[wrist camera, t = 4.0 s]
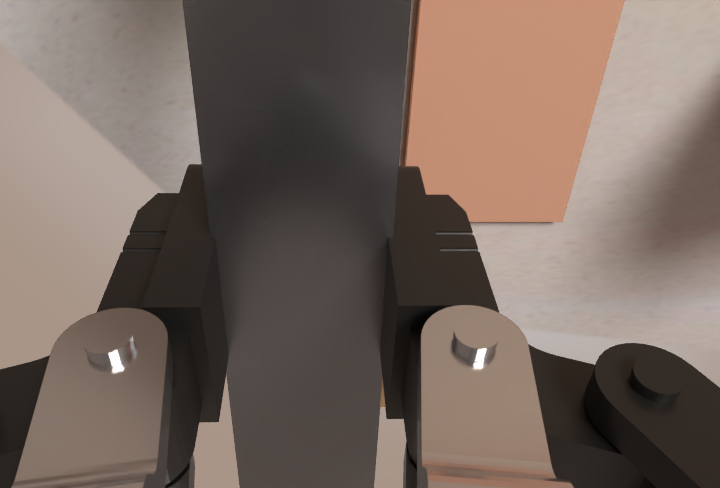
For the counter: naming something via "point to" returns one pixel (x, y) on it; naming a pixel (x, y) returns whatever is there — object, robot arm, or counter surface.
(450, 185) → the mat
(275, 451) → the rail
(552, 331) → the counter surface
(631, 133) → the counter surface
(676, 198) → the counter surface
